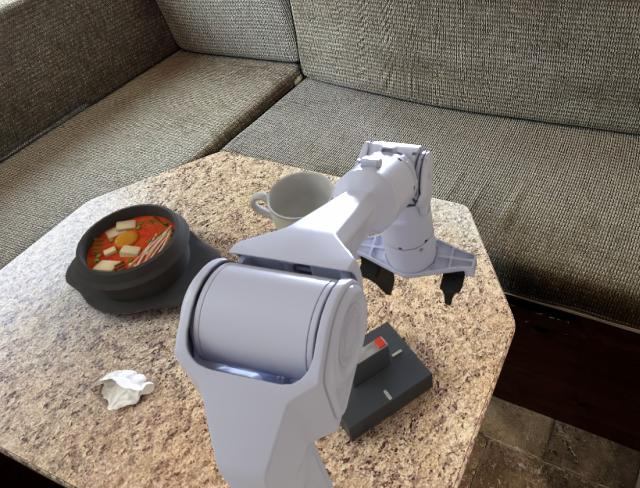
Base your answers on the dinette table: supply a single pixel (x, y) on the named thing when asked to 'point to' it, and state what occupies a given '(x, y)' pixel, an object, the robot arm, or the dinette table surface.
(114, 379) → the tissue
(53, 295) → the dinette table surface
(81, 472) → the dinette table surface
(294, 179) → the teacup
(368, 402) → the block
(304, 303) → the robot arm
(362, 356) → the tap handle
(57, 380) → the dinette table surface
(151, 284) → the casserole
